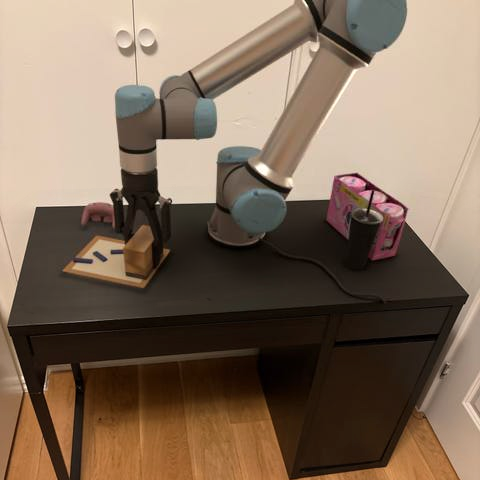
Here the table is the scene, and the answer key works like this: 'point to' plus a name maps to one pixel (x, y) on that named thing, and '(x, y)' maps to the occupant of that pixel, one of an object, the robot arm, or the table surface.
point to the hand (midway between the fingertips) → (145, 262)
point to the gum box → (356, 197)
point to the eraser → (139, 254)
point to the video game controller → (96, 209)
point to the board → (107, 262)
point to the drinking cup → (362, 235)
